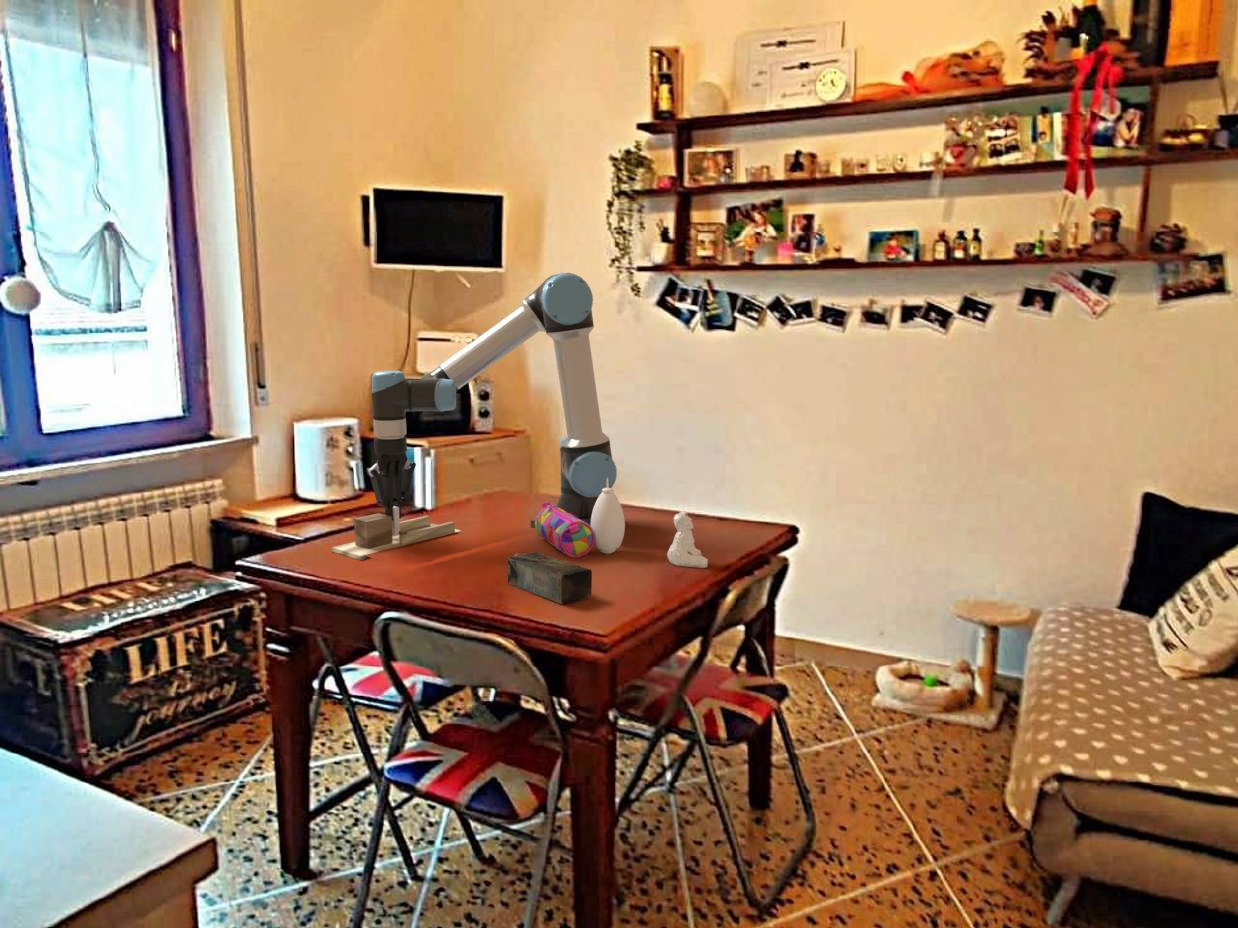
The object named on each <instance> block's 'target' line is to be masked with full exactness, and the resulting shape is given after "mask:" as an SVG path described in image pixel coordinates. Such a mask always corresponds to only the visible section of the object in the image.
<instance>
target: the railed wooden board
mask: <svg viewBox="0 0 1238 928" xmlns="http://www.w3.org/2000/svg"><path fill="white" fill-rule="evenodd" d="M455 523H456V522H455V521H447V522H444V523H440V524H437V523H431V518H430V515H424V516H419V517H414V518H411V519H406V520H402V521H400V531H399V534H392V541H393V543H391V544H387V545H382V546H378V547H374V548H370V549H366V548H363V547H359V546H356V545H355V541H352V542H349V543H348V542H347V543H344V544H339V545H336V546H332V547H331V552H333V553H335V554H338V555H342V556H346V557H349V558H352V559H355V560H359V561H363V560H367V559H371V558H372V557H371V556H368V555H371V554H375V553H379V552H384V551H387V550H392V549H395V548H399V547H400V548H401V547H403V546H406V545H407V546H408V545H411V544H415V543H420V542H422V541H423V542H424V541H428V540H431V539H435V538H439V537H443V536H447V535H453V534H456V533H458V532H459V533H460V532H462V530H461V529H456V524H455Z"/></svg>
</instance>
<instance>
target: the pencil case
mask: <svg viewBox="0 0 1238 928" xmlns="http://www.w3.org/2000/svg"><path fill="white" fill-rule="evenodd" d="M557 505H558V504H557ZM557 505H556V504H551V502H550V501H547V502H543V503H541V506H542V509H540V510H539V511H538V513H537V515H536V517H535V519H534V520H532V519H531V520H530V528H533V529H535V530H536V533H537V534H538V535H539V536H540V537H541V538H543V539H544V540H546V541H547V542H548V543H549V544H551V545H552V546H553V547H555V548H556V549H557V550H559V551H560V552H562V553H563V554H564V555H566V556H568V557H570V558H582V557H584V556H586V555H587V554H588V553H590V551H591V550H592V549H593V548H594V546H595V544H594V542H595V537H594V532H593V529H592V527H591V526H590V525H589V524H588V523H586V522H584V521H582V520H581V519H579V518H577V517H576V516H574V515H572V514H570V513H567V512H565V511H564V509H563V508H561V507H560V506H557Z"/></svg>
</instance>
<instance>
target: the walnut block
mask: <svg viewBox="0 0 1238 928" xmlns="http://www.w3.org/2000/svg"><path fill="white" fill-rule="evenodd" d="M353 523H354V524H353V525H354V526H353V527H354V542H355V545H356V546H359V547H363V548H366V549H370V548H374V547H378V546H382V545H387V544H391V543H393V541H392V517H391V516H387V515H385V514H383V513H380V512H379V513H378V512H377V513H375V514H374V513H373V514H370V515H369V514H368V515H365V516H360V517H355V518H353Z"/></svg>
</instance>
